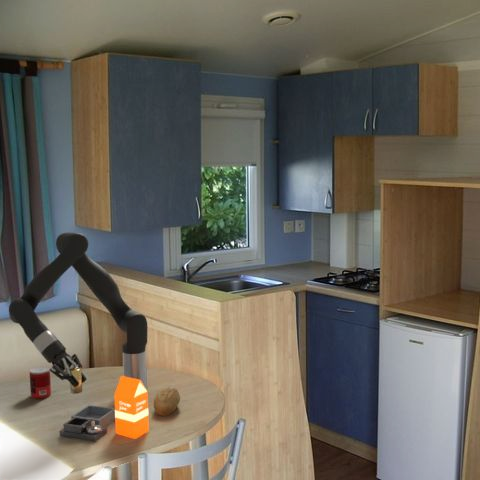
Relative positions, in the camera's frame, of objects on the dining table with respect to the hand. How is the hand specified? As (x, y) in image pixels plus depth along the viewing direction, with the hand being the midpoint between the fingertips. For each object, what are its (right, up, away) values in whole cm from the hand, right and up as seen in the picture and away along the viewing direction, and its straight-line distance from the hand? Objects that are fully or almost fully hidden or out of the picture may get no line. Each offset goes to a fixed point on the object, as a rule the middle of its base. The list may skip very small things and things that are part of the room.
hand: (80, 383), depth 249 cm
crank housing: (0, -18, +3) cm, 19 cm away
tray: (+2, -17, +13) cm, 21 cm away
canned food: (-25, -13, +41) cm, 49 cm away
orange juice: (+17, -18, +4) cm, 25 cm away
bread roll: (+27, -15, +25) cm, 40 cm away
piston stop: (-2, -3, +1) cm, 4 cm away
